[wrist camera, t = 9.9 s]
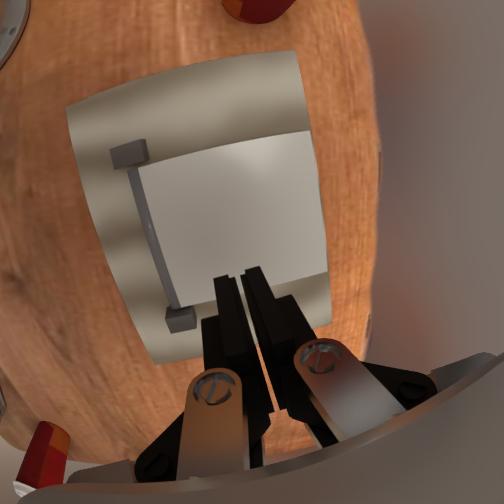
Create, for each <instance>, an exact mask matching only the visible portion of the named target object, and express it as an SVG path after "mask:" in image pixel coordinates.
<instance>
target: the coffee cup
mask: <svg viewBox="0 0 504 504" xmlns="http://www.w3.org/2000/svg"><path fill="white" fill-rule="evenodd" d="M69 441H70V437H69V435H68V434H67V433H66V432H65V431H64V430H63V429H62V428H60V427H58V426H57V425H55V424H52V423H50V422H46V421H42V422H40V423H39V425H38V427H37V429H36V431H35V433H34V436H33V438H32V440H31V442H30V445H29V447H28V449H27V452H26V454H25V457H24V460H23V462H22V465H21V467H20V470H19V473H18V475H17V478H16V481H13V484H14V488H15V492H16V493H17V494H18V495H19V496H21V497H23V496H24V495H26V494H28V493H30V492H32V491H34V490H37V489H40V488H44V487H47V486H52V485H57V484H63V479H64V472H65V466H66V459H67V454H68V448H69Z"/></svg>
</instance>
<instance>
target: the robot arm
mask: <svg viewBox="0 0 504 504" xmlns="http://www.w3.org/2000/svg"><path fill="white" fill-rule="evenodd" d="M29 8H30V0H0V68H1V67H2V65H3V64H4V63H5V61H6V60H7V59H8V57H9V56H10V54H11V52H12V51H13V49H14V48H15V46H16V44H17V42H18V40H19V38H20V36H21V34H22V32H23V29H24V27H25V25H26V21H27V18H28V14H29ZM240 278H241V282H242V286H243V290H244V293H245V297H246V301H247V305H248V308H249V312H250V316H251V320H252V323H253V327H254V331H255V334H256V338H257V341H258V344H259V347H260V350H261V354H262V357H263V360H264V363H265V366H266V369H267V372H268V375H269V378H270V381H271V384H272V387H273V390H274V394H275V397H276V400H277V403H278V406H279V409H280V410H283V409H287V412H288V415H289V417H291V418H292V419H295V420H298V421H301V422H304V425H305V427H306V429H307V431H308V432H309V434H310V435H311V437H312V439H313V440H314V442H315V443H316V445H317V446H318V448H319V450H317V451H314V452H311V453H308V454H305V455H302V456H299V457H296V458H292V459H289V460H285V461H282V462H278V463H274V464H270V465H266V455H265V442H264V437H263V434H264V433H265V432H266V430H267V429H268V427H269V426H270V425H271V423H270V422H271V421H270V418H269V413H272V412H275V411H274V407H273V404H272V401H271V397H270V394H269V391H268V387H267V384H266V380H265V377H264V374H263V370H262V367H261V363H260V360H259V356H258V353H257V349H256V346H255V343H254V339H253V336H252V333H251V329H250V326H249V323H248V319H247V316H246V313H245V309H244V306H243V302H242V299H241V296H240V292H239V289H238V285H237V282H236V278H235V277H231V278H229V276H228V274H227V275H223V276H220V277H216V278H213V282H214V288H215V295H216V302H217V308H218V315H215V316H211V317H207V318H203V319H201V333H202V346H203V358H204V369H205V371H204V372H202V373H200V374H199V375H198V376H196V377H195V378H194V379H193V380H192V382H191V383H190V384H189V387H188V390H187V396H186V403H185V410H184V412H183V413H182V414H181V415H180V416H179V417H178V418H177V419H176V420H175V421H174V422H173V423H172V424H171V425H170V426H169V427H168V428H167V429H166V430H165V431H164V432H163V433H162V434H161V435H160V436H159V437H158V438H157V439H156V440H155V441H154V442H153V443H152V444H151V445H150V446H149V447H147V448H146V449H145V450H144V451H143V452H142V453H141V455H140V456H139V457H138V458H137V460H135V461H131V460H130V459H126V460H123V461H119V462H115V463H111V464H106V465H102V466H97V467H93V468H88V469H83V470H79V471H76V472H74V473H73V474H72V475H70V476H69V478H68V480H67V482H66V484H57V485H52V486H47V487H44V488H40V489H37V490H34V491H32V492H30V493H28V494H26V495H24V496H23V497H22V498H21V499H20V500H19V501H18V503H17V504H504V352H503V353H501V354H500V355H498V356H495V355H493V354H491V353H486V352H483V353H478V354H475V355H473V356H470V357H468V358H465V359H462V360H460V361H457V362H454V363H451V364H448V365H445V366H443V367H439V368H436V369H433V370H431V372H430V374H428V375H425V374H422V373H419V372H413V371H408V370H402V369H397V368H391V367H386V366H381V365H376V364H371V363H366V362H362V361H359V360H358V359H357V358H356V357H355V356H354V355H353V354H352V353H351V352H350V351H349V349H348V348H347V347H346V346H345V345H343V344H342V343H341V342H339V341H337V340H334V339H328V338H320V339H318V338H317V337H316V335H315V333H314V332H313V330H312V328H311V326H310V325H309V323H308V321H307V319H306V318H305V316H304V314H303V312H302V311H301V309H300V307H299V306H298V304H297V302H296V300H295V299H294V297H293V296H292V294H289V295H286V296H283V297H279V298H276V299H275V297H274V294H273V292H272V290H271V288H270V286H269V284H268V282H267V280H266V278H265V276H264V274H263V272H262V269H261V267H260V266H256V267H252V268H249V269H245V274H242V275H240Z"/></svg>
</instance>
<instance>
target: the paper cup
mask: <svg viewBox="0 0 504 504" xmlns="http://www.w3.org/2000/svg"><path fill="white" fill-rule="evenodd" d="M295 1H296V0H222V3H223V5H224V8H225V9H226V11H227V12H228V13H229V14H230V15H231V16H233V17H234V18H236V19H238V20H240V21H243V22H246V23H251V24H262V23H268V22H271V21H273V20H275V19H277V18H278V17H279V16H281V15H282V14H283V13H284V12H285V11H286V10H287V9H288V8H289V7H290V6H291V5H292V4H293V3H294V2H295Z"/></svg>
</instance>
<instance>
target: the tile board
mask: <svg viewBox="0 0 504 504" xmlns="http://www.w3.org/2000/svg"><path fill="white" fill-rule="evenodd" d="M65 110H66V116H67V122H68V127H69V132H70V137H71V142H72V146H73V151H74V155H75V159H76V163H77V167H78V171H79V175H80V179H81V183H82V186H83V190H84V193H85V197H86V200H87V204H88V207H89V210H90V213H91V216H92V220H93V223H94V226H95V229H96V232H97V234H98V237H99V240H100V243H101V246H102V249H103V251H104V254H105V257H106V259H107V262H108V265H109V267H110V270H111V272H112V275H113V277H114V280H115V282H116V284H117V287H118V289H119V292H120V294H121V296H122V299H123V301H124V303H125V305H126V308H127V310H128V312H129V314H130V316H131V318H132V321H133V323H134V325H135V327H136V329H137V331H138V333H139V335H140V337H141V339H142V341H143V343H144V345H145V347H146V349H147V351H148V353H149V355H150V357H151V359H152V360H153V362H154V364H155V365H159V364H165V363H170V362H176V361H182V360H187V359H192V358H197V357H202V356H203V346H202V333H201V319H203V318H207V317H211V316H215V315H218V308H217V302H216V300H212V301H208V302H204V303H199V304H195V305H190V306H186V307H181V308H179V309H171V307H170V304H169V301H168V299H167V296H166V293H165V291H164V288H163V285H162V283H161V280H160V277H159V274H158V271H157V269H156V266H155V263H154V260H153V257H152V254H151V251H150V248H149V245H148V242H147V239H146V236H145V233H144V229H143V226H142V223H141V220H140V216H139V213H138V210H137V206H136V203H135V199H134V196H133V192H132V188H131V185H130V181H129V177H128V173H127V171H129V170H132V169H135V168H138V167H142V166H145V165H148V164H152V163H155V162H159V161H162V160H166V159H169V158H173V157H177V156H181V155H185V154H188V153H192V152H196V151H201V150H205V149H209V148H213V147H218V146H222V145H227V144H232V143H237V142H242V141H247V140H252V139H257V138H263V137H268V136H274V135H280V134H287V133H293V132H300V131H310V135H311V140H312V147H313V153H314V159H315V166H316V173H317V180H318V187H319V194H320V202H321V210H322V219H323V228H324V237H325V247H326V258H327V269H328V271H327V272H324V273H320V274H316V275H312V276H309V277H305V278H301V279H297V280H294V281H290V282H286V283H282V284H278V285H274V286H270V288H271V290H272V292H273V294H274V297H275V299H276V298H279V297H283V296H286V295H289V294H292V296H293V297H294V299H295V300H296V302H297V304H298V306H299V307H300V309H301V311H302V312H303V314H304V316H305V318H306V319H307V321H308V323H309V325H310V326H311V328H312V329H315V328H318V327H322V326H325V325H328V324H331V323H332V309H331V292H330V278H329V265H328V254H327V243H326V233H325V224H324V215H323V206H322V198H321V191H320V183H319V176H318V169H317V162H316V156H315V149H314V143H313V137H312V131H311V126H310V120H309V115H308V109H307V104H306V99H305V94H304V89H303V84H302V79H301V75H300V70H299V66H298V61H297V57H296V53H295V50H285V51H273V52H263V53H254V54H247V55H239V56H233V57H227V58H221V59H215V60H210V61H205V62H200V63H195V64H191V65H187V66H182V67H178V68H174V69H170V70H167V71H163V72H159V73H156V74H152V75H149V76H146V77H142V78H139V79H136V80H133V81H130V82H127V83H124V84H121V85H119V86H116V87H113V88H110V89H108V90H105V91H102V92H100V93H97V94H95V95H92V96H90V97H88V98H85V99H83V100H81V101H78V102H76V103H74V104H72V105H69V106H67V107H65ZM240 296H241V299H242V302H243V306H244V309H245V313H246V316H247V319H248V323H249V326H250V329H251V333H252V336H253V339H254V343H255V345H256V344H258V341H257V338H256V334H255V331H254V327H253V323H252V320H251V316H250V312H249V308H248V305H247V301H246V297H245V293H242V294H240Z"/></svg>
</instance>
